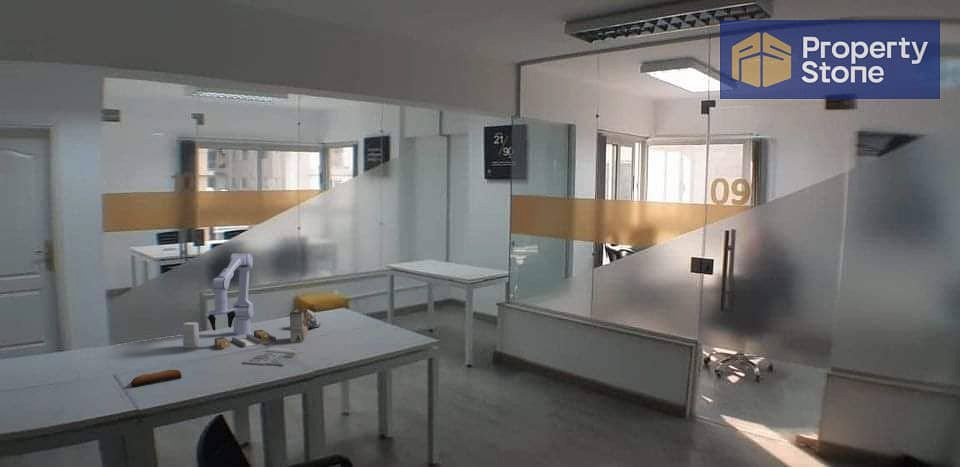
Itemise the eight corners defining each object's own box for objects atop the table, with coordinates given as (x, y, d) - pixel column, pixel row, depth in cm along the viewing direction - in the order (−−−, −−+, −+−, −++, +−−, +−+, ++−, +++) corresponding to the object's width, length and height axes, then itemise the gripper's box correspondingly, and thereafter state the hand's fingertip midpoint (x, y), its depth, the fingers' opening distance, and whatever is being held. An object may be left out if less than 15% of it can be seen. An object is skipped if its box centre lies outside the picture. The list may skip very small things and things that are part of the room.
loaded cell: (253, 338, 295) (253, 330, 295) (261, 337, 298) (261, 329, 298) (261, 342, 288) (261, 334, 288) (269, 340, 291) (269, 333, 291)
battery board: (231, 342, 290) (231, 337, 290) (263, 336, 302) (263, 331, 302) (243, 348, 280) (243, 343, 279) (275, 342, 291) (275, 337, 291)
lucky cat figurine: (325, 325, 325) (323, 307, 317) (310, 338, 316) (308, 319, 308) (305, 315, 330) (303, 297, 322) (290, 327, 321) (288, 309, 313)
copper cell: (214, 346, 283) (214, 338, 283) (223, 344, 286) (222, 336, 286) (221, 350, 277) (221, 342, 276) (230, 348, 279) (230, 340, 279)
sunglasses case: (177, 372, 243) (178, 361, 240) (180, 384, 239) (182, 374, 236) (128, 382, 232) (129, 370, 229) (131, 394, 228) (132, 383, 225)
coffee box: (296, 338, 298) (295, 308, 297) (308, 338, 298) (307, 308, 297) (290, 343, 289) (289, 312, 288) (302, 343, 289) (302, 312, 287)
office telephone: (270, 345, 279) (307, 348, 275) (270, 350, 279) (307, 353, 275) (242, 359, 257) (281, 362, 253) (242, 364, 257) (282, 367, 253)
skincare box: (199, 345, 283) (198, 322, 282) (194, 348, 279) (193, 324, 278) (188, 345, 284) (187, 322, 283) (182, 347, 280) (182, 324, 279)
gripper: (208, 305, 272) (209, 332, 273) (239, 300, 282) (239, 327, 283) (203, 302, 277) (204, 329, 278) (233, 298, 287) (234, 324, 288)
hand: (221, 328), depth 281 cm, fingers open, 7 cm apart
